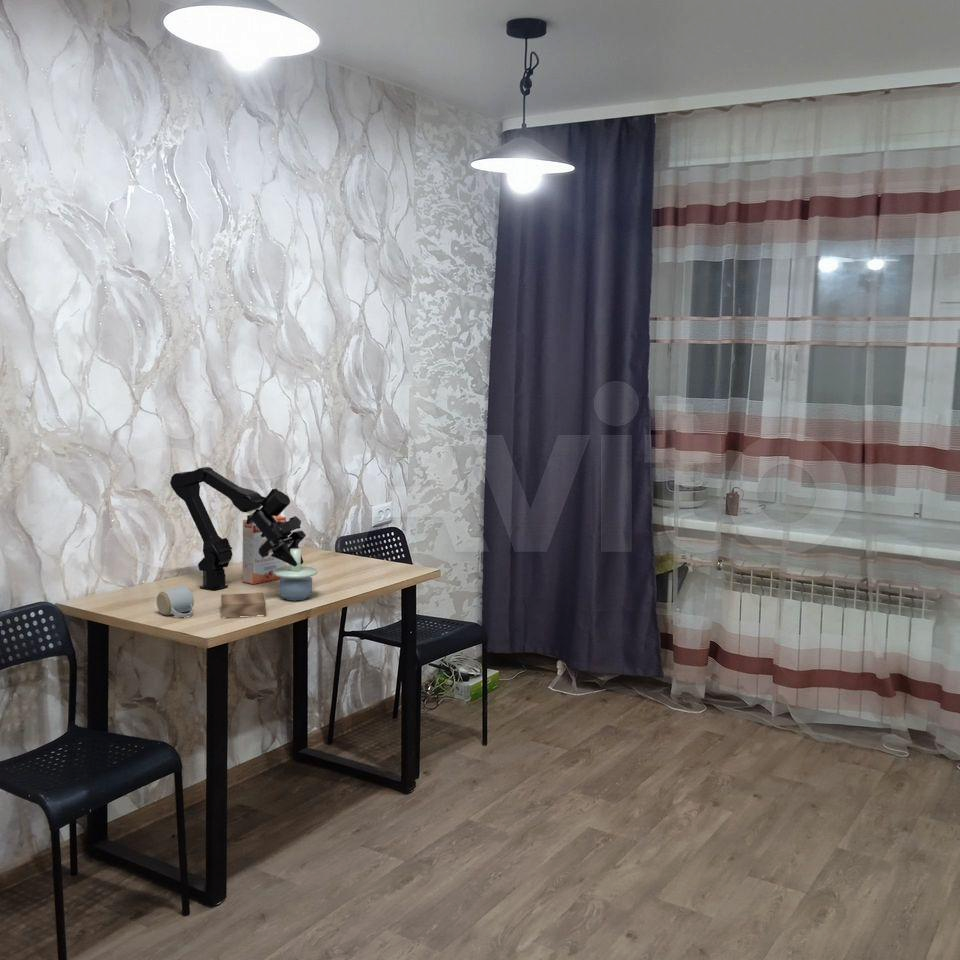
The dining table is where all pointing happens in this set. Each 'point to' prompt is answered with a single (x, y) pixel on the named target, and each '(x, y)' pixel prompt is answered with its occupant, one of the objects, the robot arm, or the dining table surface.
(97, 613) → the dining table surface
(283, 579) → the glazed bowl
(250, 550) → the cracker box
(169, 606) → the ceramic mug
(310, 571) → the lid
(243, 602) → the walnut stand
